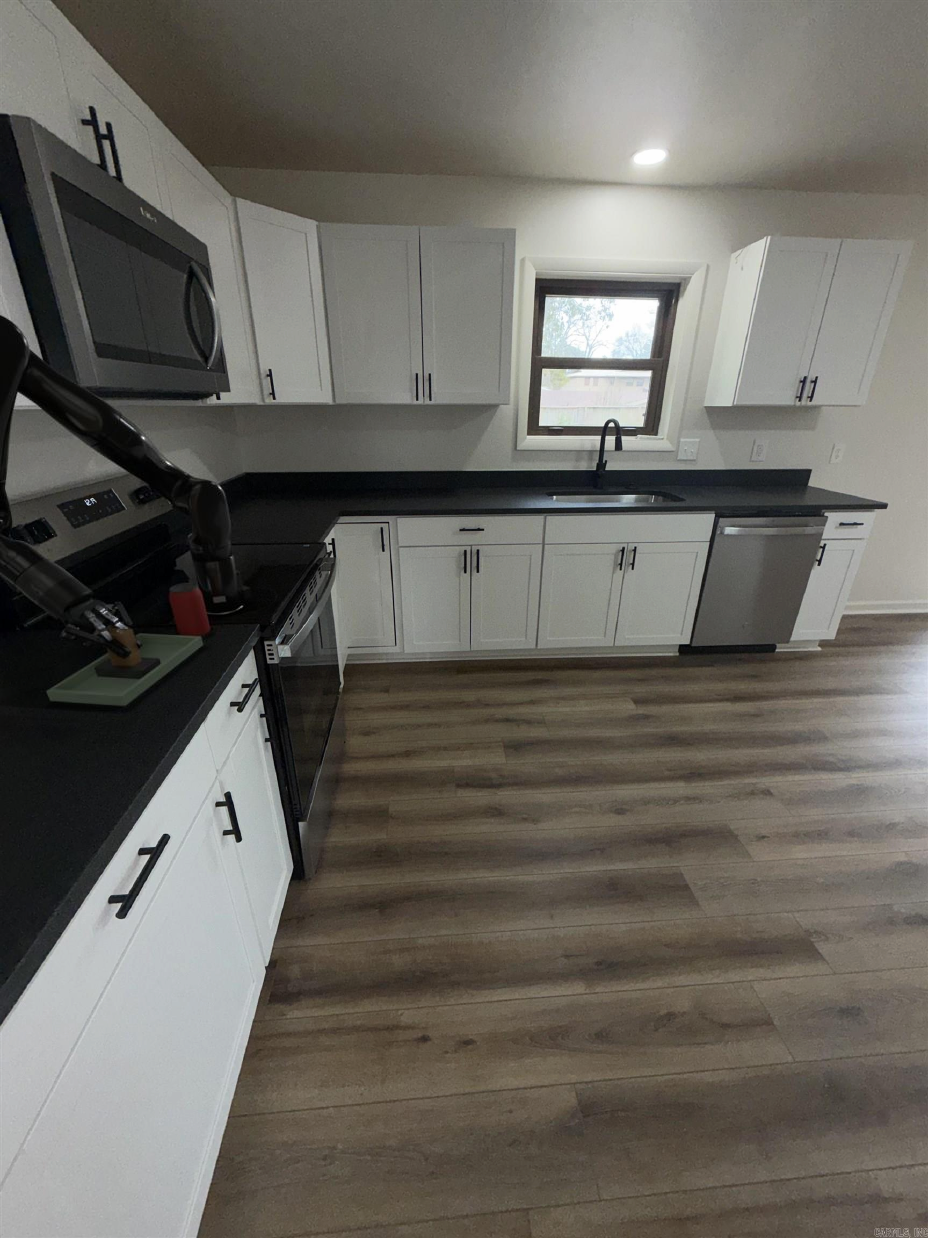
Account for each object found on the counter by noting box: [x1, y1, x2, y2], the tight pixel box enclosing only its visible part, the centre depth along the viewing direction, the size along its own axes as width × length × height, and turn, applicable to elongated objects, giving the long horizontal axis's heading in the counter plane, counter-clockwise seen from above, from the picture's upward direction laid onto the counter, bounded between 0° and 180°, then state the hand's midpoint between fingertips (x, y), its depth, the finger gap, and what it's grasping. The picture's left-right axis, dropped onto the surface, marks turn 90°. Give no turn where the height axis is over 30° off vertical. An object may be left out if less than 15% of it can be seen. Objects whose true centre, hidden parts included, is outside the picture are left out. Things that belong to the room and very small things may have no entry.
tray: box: [46, 632, 204, 707], centre depth 99 cm, size 24×15×3 cm, turn 174°
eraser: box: [95, 627, 161, 679], centre depth 96 cm, size 10×5×9 cm, turn 84°
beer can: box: [168, 582, 211, 637], centre depth 113 cm, size 7×7×12 cm
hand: (133, 651), depth 96 cm, fingers closed on eraser, 2 cm apart
